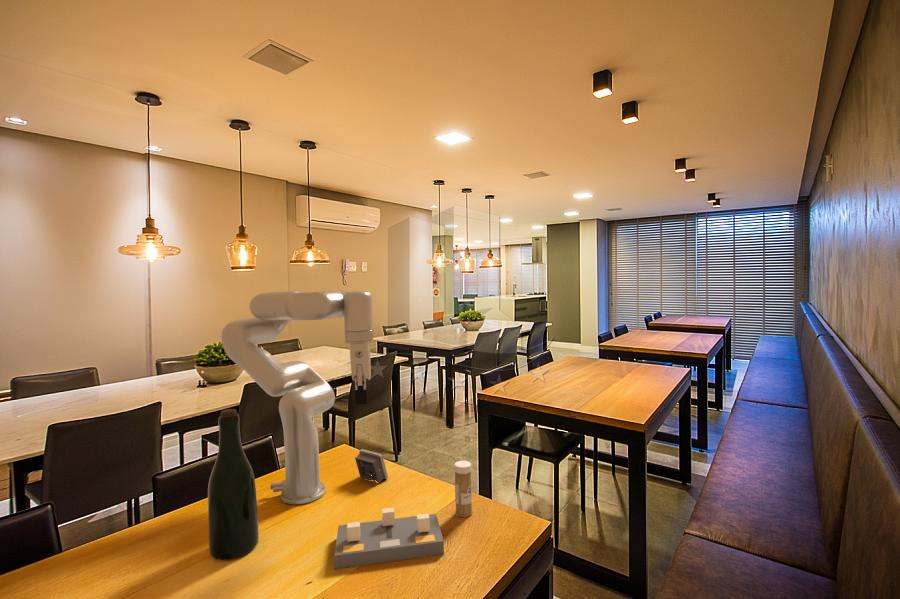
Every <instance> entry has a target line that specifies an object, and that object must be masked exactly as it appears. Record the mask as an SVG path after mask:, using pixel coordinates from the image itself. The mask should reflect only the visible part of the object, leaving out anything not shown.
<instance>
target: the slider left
mask: <svg viewBox="0 0 900 599" xmlns="http://www.w3.org/2000/svg"><path fill="white" fill-rule="evenodd" d="M360 523H361V522H360V521H356V522H348V523H347V541H348V542H350V541H358V540H360Z"/></svg>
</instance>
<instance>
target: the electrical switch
mask: <svg viewBox="0 0 900 599" xmlns="http://www.w3.org/2000/svg"><path fill="white" fill-rule="evenodd" d="M358 453H359V454H358V455H357V456H356V457H354V458H355V459H354V460H355V463H356V465H357V466H356V467H357V470H358V474H359V478H360V479H361V478H363V479H362V480H365V479H367V480H366V481H368V480H374V481H375V480H376V481H377V482H378V483H379V484H380V483H381V482H382V481H384V480H383V479H386V480H385V481H387V480H388V478H389V476H388V472H387V468H386V464H385V461H384V460H385V459H384V457H383V454H381V453H379V452H376V451H375V452H374V451H370V450H366V449H364V448H361V449H359V450H358ZM371 475H372V476H371ZM373 476H374V477H373ZM378 483H377V484H378Z"/></svg>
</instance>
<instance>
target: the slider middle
mask: <svg viewBox="0 0 900 599" xmlns="http://www.w3.org/2000/svg"><path fill="white" fill-rule="evenodd" d="M381 512H382V520H383V526H389V525H395V523H394V519H395V509H394V507H388V508H387V507H386V508H382V509H381Z"/></svg>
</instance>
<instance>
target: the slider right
mask: <svg viewBox="0 0 900 599" xmlns="http://www.w3.org/2000/svg"><path fill="white" fill-rule="evenodd" d="M416 516H417V530H418V533H420V532H427V531H430V518H429V513H428V512H426V513H421V514H416Z"/></svg>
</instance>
